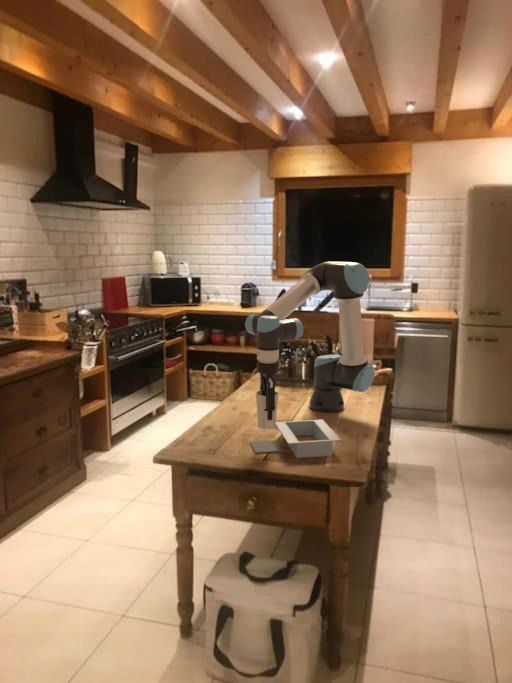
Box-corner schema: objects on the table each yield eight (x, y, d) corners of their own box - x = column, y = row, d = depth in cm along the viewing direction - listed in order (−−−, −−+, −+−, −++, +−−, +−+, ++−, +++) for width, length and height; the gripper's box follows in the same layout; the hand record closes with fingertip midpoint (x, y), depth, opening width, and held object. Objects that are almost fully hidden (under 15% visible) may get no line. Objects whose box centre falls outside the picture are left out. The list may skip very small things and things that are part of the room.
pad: (277, 441, 204) (277, 440, 204) (283, 452, 194) (283, 450, 194) (250, 443, 202) (250, 441, 202) (255, 453, 192) (255, 452, 192)
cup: (262, 431, 191) (262, 397, 189) (251, 424, 198) (251, 391, 196) (282, 427, 195) (282, 394, 192) (271, 420, 202) (271, 388, 199)
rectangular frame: (322, 433, 213) (322, 419, 212) (340, 455, 192) (341, 439, 191) (274, 436, 209) (274, 422, 208) (288, 458, 188) (288, 443, 187)
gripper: (251, 355, 201) (251, 415, 205) (262, 368, 181) (261, 434, 186) (272, 354, 202) (271, 414, 207) (285, 367, 183) (283, 433, 187)
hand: (266, 424), depth 196 cm, fingers closed on cup, 7 cm apart
